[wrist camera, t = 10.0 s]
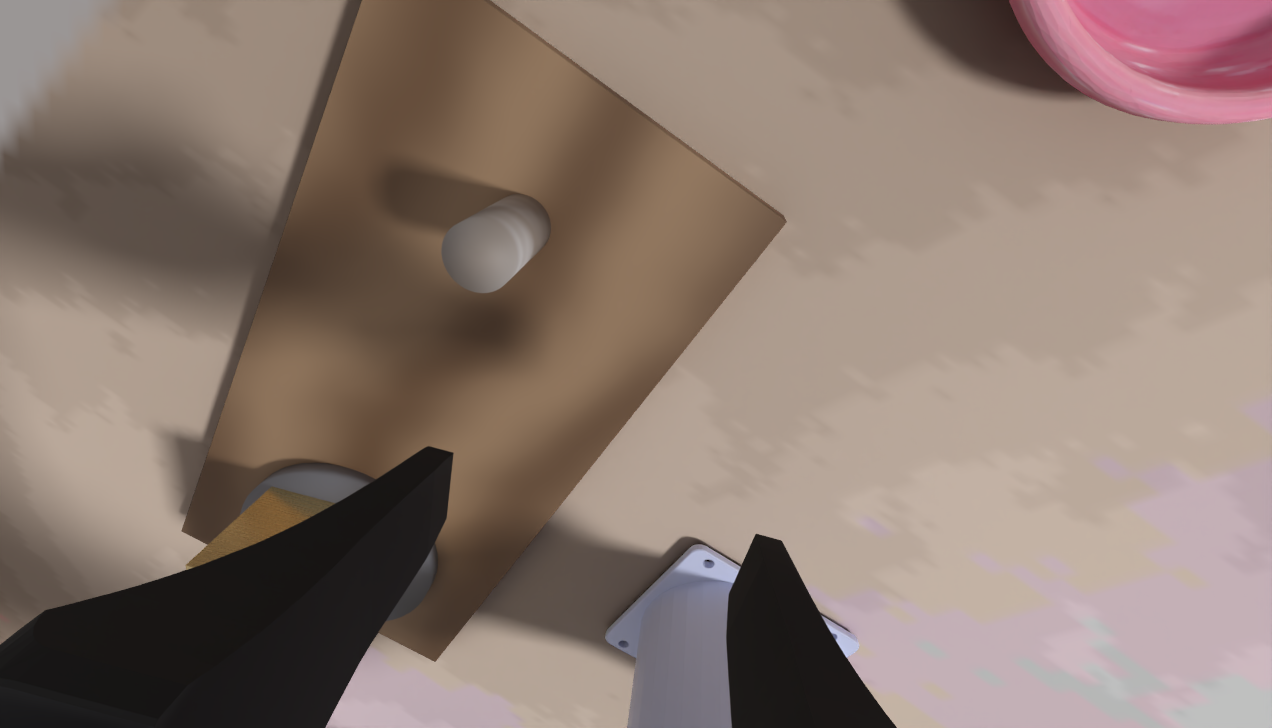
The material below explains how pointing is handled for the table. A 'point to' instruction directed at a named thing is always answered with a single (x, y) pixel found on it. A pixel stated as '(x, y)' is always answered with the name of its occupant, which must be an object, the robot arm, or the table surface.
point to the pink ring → (1160, 54)
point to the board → (471, 291)
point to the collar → (261, 522)
